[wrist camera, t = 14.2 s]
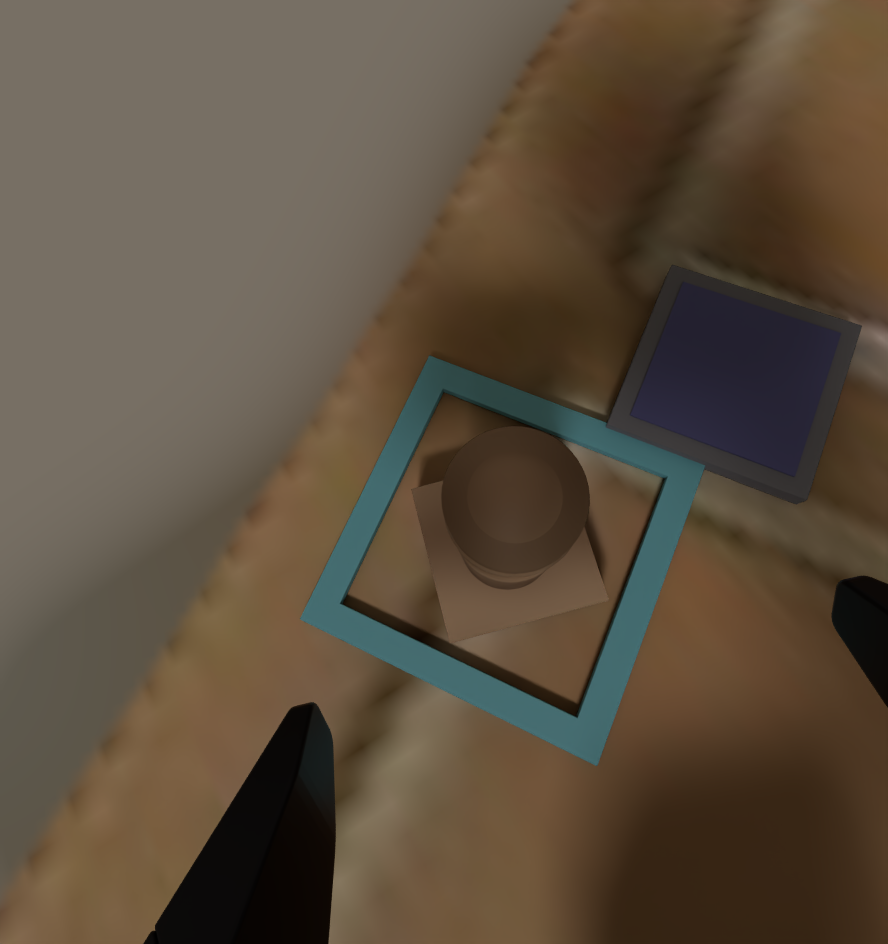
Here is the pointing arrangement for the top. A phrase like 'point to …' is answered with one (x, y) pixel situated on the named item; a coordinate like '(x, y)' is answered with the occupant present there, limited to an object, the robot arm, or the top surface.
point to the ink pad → (736, 382)
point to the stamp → (509, 533)
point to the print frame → (453, 675)
